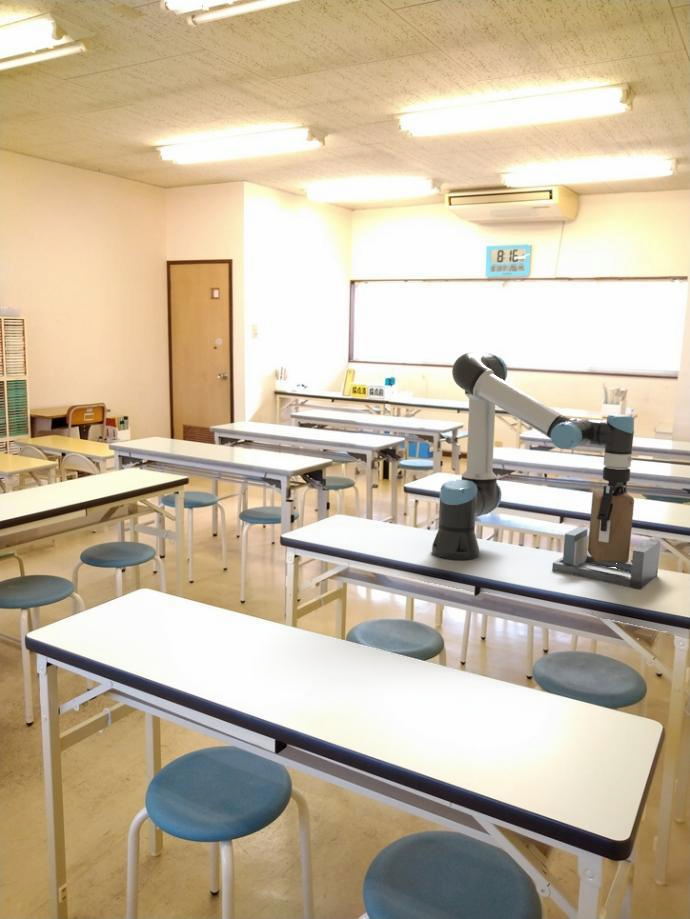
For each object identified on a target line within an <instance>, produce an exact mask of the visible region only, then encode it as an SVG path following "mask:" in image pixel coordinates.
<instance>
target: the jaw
mask: <svg viewBox="0 0 690 919" xmlns="http://www.w3.org/2000/svg"><path fill="white" fill-rule="evenodd" d="M588 542H589V535H588V528H585V527H579V526H577V527H575V528H573V529H572V530H570V531H568V532H566V533H565V534H564V542H563V553H562V554H563V555H562V556H563V563H565V564H570V565H574V566H579V567H581V566H582V565H584V564H586V563H585V561H586V559H587V554H588Z"/></svg>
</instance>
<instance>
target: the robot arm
mask: <svg viewBox="0 0 690 919" xmlns="http://www.w3.org/2000/svg"><path fill="white" fill-rule="evenodd" d="M451 373H452V374H451V375H452V378H453V381H454V383H455V384H456V385H457V386H458V387H459V388H460V389H462V390H464V395H465V396H466V397H467V398H468V422H467V423H468V424H467V427H468V428H467V448H466V451H467V452H466V469H465V471H464V472H463V473H462V474H461V479H456V480H448V481H446V482H444V483H443V484H441V487H440V491H439V492H440V493H439V506H438V507H439V511H438V529H437V532H436V535H435V538H434V540H433V542H432V546H431V547H432V548H431V553H432V554H433V555H435V556H436V557H439V558H442V559H445V560H446V559H447V560H453V561H461V560H462V561H468V560H473V559H476V558H478V557H479V555H480V547H479V543H478V540H477V535H476V533H475V532H476V531H475V530H476V518H478V517H481V516H484V515H488V514H490V513H492V512H493V511H494V510H496V509H497V508H498V506H499V505H500V503H501V501H502V490H501V486H499V485H498V483H497V482H498V481H497V478H498V476H497V475H496V473H494V472H493V469H494V468H493V466H494V465H493V464H494V443H495V442H494V441H495V440H494V439H495V422H496V421H495V418H496V406H497V407H498V408H500V409H502V410H503V411H505V412H507V413H508V414H510V415H511V416H512V417H515V419H518V420H519V421H521V422H523V423H524V424H526V425H528V426H529V427H531V428H533V429H534V430H535V431H538V432H539V433H541V434H543V435H544V436H546V437H547V438H549V439H550V440H551V442H552V443H553V445H554V446H555V447H556V448H558V449H561V450H570V449H574V448H575V449H576V448H577V447H581V446H585V445H589V446H592V445H593V446H603V447H604V454H603V466H604V467H603V469H602V479H603V480H604V481H607V482H608V483H607V485H603V496H602V500H601V505H600V509H599V513H598V516H597V519H600V529H599V541H601V542H607V543H608V542H609V532H610V520H609V519H610V515H611V512H612V509H613V503H612V504H611V500H612V496H613V495H615V496H618V495H619V494H620V493H624V492H626V493H628V489H627V487H628V486H627V483H628V482H629V481H630V478H631V469H630V468H631V467H632V466H631V465H632V461H634V458H633V457H632V453H633V444H634V443H633V442H634V434H635V430H634V429H635V418H634V417H633V416H632V415H628V414H617V413H611V414H608V415H607V419H606V420H605V419H604V420H599V419H590V418H589V419H588V418H582V417H578V418H577V417H571V418H568V417H566V416H565V415H563V414H561V413H560V412H558V411H556V410H555V409H553V408H551V407H550V406H548V405H547V404H545V403H543V402H542V401H541V402H540V401H539V400H537V399H536V398H534V397H532V396H531V395H530V394H527V393H525V392H524V391H522V390H521V389H519V388H517V387H516V386H514V385H512V384H510V383H509V382H507V381H506V380H507V377H508V368H507V365H506V362H505V361H504V360H503V358H501V357H500V356H499V355H497V354H496V353H495V354H494V353H492V352H467V353H464V354H462V355H460V356H459V357H458V358H457V359H456V360H455V361H454V362H453V366H452V372H451Z"/></svg>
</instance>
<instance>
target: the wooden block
mask: <svg viewBox="0 0 690 919" xmlns="http://www.w3.org/2000/svg"><path fill="white" fill-rule="evenodd" d="M603 490H604V489H603ZM603 490H602V489H595V490H593V491H592V495H591V496H592V497H591V509H590V517H589V518H590V519H589V521H590V522H589V532H588V547H587V553H588V554H590V555H591V556H592V558H593V559H594V560H595V561H598V562H615V563H627V562H629V560H630V547H631V538H632V530H633V529H632V527H633V517H634V507H635V506H634V505H635V499H634V497H633V496H632V495H630V494H629V493H628V492H627V493H626V492H624V493H620V494H619V495H618V496H615V495H613V496H612V500H611V504H612V503H613V509H612V512H611V515H610V519H609V520H610V532H609V542H608V543H607V542H601V541H599V529H600V519H597V516H598V513H599V509H600V505H601V500H602V496H603Z"/></svg>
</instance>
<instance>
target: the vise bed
mask: <svg viewBox="0 0 690 919" xmlns="http://www.w3.org/2000/svg"><path fill="white" fill-rule="evenodd" d="M661 542H662V540H661V539H655V538H649V539H647V540H646V541H644V542H643V543H642V544H640V545H638V546H637V547H636V548H634V549H632V559H631V561H630V562H629V561H628V562H627V563H617V564H616V563H615V562H598V561H595V560H594V559H593V558H592V556H591V555H590V554H589V553H587V559H586V561H585V563H584V564H589V565H594V566H599V567H603V566H604V568H608V567H616V568H617V569H616V570H618V569H620V570H619V571H623V570H625V571H624V572H627V571H629V573H630V576H626V575H621V574H617V573H612V572H608V571H607V572H606V571H603V570H598V569H593V568H588V567H583V566H574V565H570V564H565V563H563V557H560V558H559V559H557V560H556V561H554V562H552V567H551V568H552V569H551V571H553V572H558V573H562V574H567V575H571V576H576V577H580V578H585V579H588V580H589V579H590V580H593V581H600V582H602V583H603V582H604V583H608V584H611V585H617V586H621V587H625V588H629V589H634V590H635V589H636V590H639V591H641V590H643V588H645V587H646V586H647V585H648V584H650V583H651V582H652V581H653V580H654V579H655V578H656V577H657V576H658V572H659V562H660V561H659V560H660V553H661V551H660V550H661Z"/></svg>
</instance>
